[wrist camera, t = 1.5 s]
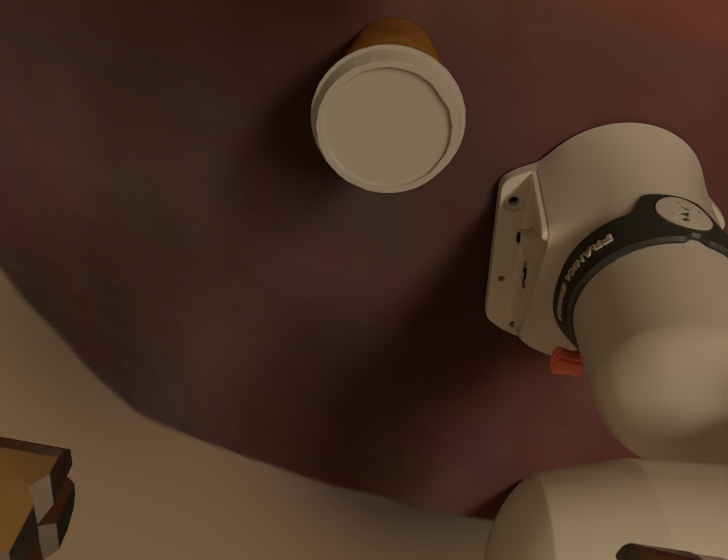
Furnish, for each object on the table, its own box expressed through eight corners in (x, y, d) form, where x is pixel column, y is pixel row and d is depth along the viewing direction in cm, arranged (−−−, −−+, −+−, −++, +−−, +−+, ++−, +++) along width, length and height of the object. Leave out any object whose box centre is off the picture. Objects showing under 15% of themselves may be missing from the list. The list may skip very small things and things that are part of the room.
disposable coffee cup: (304, 76, 52) (280, 148, 43) (374, -35, 47) (364, 18, 38) (407, 142, 55) (405, 224, 46) (484, 43, 50) (500, 112, 41)
